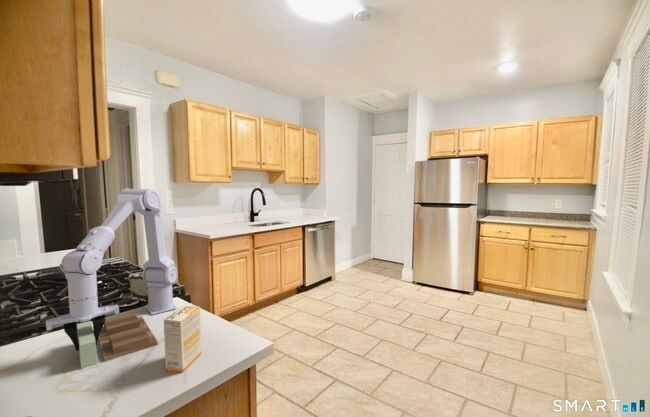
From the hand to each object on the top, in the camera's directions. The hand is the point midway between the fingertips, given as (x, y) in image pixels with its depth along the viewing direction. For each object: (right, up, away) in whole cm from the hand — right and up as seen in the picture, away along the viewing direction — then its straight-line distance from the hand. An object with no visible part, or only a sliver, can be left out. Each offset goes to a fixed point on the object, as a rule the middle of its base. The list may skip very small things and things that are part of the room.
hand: (86, 347), depth 78 cm
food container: (-5, +1, +37) cm, 38 cm away
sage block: (0, -2, 0) cm, 2 cm away
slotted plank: (+5, -1, +8) cm, 10 cm away
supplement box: (+27, -3, -2) cm, 27 cm away
